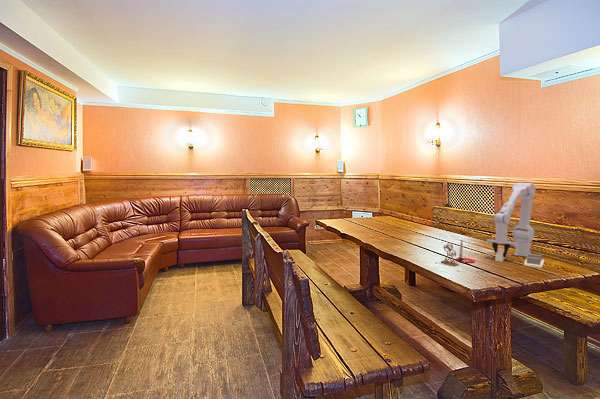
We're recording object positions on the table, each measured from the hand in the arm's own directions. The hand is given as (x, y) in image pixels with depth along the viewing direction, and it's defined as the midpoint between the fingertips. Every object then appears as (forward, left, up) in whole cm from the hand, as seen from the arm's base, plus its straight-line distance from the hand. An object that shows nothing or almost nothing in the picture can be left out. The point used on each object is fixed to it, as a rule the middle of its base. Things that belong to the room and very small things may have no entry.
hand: (500, 256), depth 191 cm
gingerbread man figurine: (+27, -21, -2) cm, 34 cm away
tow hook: (+16, -15, -2) cm, 22 cm away
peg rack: (0, +16, -2) cm, 16 cm away
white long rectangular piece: (0, 0, -2) cm, 2 cm away
